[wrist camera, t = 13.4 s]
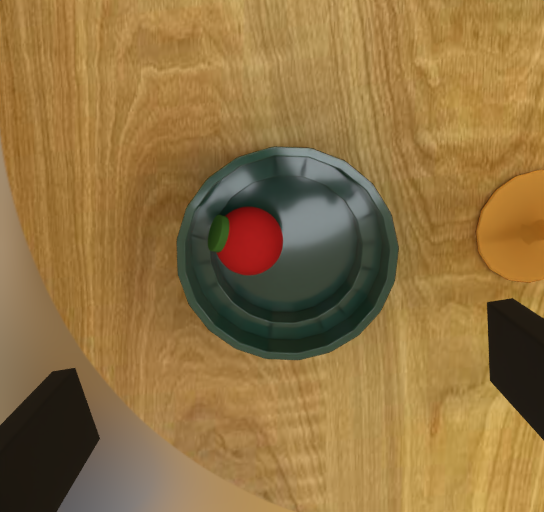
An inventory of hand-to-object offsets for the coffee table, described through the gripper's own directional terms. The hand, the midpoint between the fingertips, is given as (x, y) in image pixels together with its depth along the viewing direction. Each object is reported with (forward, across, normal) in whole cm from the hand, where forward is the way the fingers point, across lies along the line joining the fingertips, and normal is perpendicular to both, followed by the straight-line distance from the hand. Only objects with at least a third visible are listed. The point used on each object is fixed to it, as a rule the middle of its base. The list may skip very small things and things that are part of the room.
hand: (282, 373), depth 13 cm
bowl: (+20, 0, -1) cm, 20 cm away
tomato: (+18, 0, -1) cm, 18 cm away
